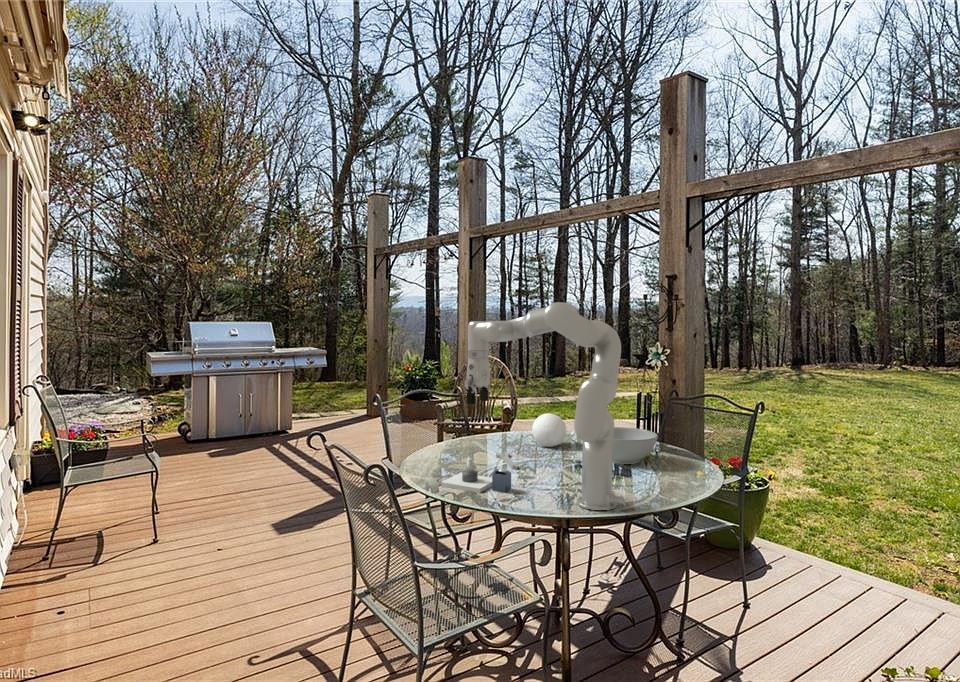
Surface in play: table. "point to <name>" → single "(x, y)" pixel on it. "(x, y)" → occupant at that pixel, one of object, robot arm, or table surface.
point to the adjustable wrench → (507, 459)
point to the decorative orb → (549, 430)
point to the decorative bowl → (632, 444)
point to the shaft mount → (468, 480)
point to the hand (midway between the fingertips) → (477, 402)
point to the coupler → (501, 481)
